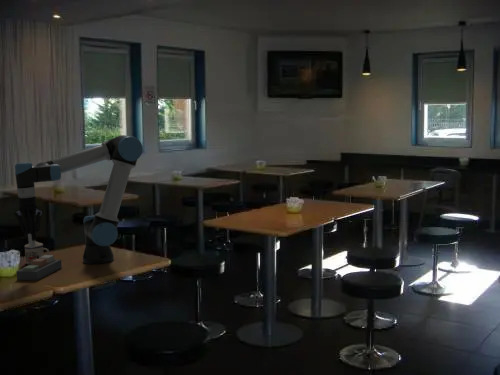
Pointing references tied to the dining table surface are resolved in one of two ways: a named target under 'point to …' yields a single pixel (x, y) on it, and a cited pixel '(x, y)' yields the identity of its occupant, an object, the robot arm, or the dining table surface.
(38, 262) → the terracotta button
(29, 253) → the teacup with lid
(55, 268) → the button panel
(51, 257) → the white button
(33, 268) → the green button
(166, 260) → the dining table surface
